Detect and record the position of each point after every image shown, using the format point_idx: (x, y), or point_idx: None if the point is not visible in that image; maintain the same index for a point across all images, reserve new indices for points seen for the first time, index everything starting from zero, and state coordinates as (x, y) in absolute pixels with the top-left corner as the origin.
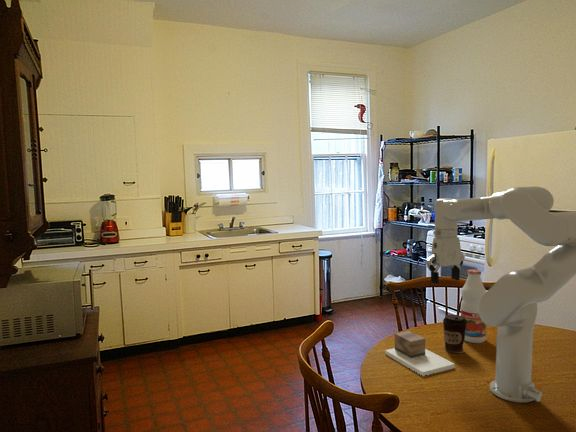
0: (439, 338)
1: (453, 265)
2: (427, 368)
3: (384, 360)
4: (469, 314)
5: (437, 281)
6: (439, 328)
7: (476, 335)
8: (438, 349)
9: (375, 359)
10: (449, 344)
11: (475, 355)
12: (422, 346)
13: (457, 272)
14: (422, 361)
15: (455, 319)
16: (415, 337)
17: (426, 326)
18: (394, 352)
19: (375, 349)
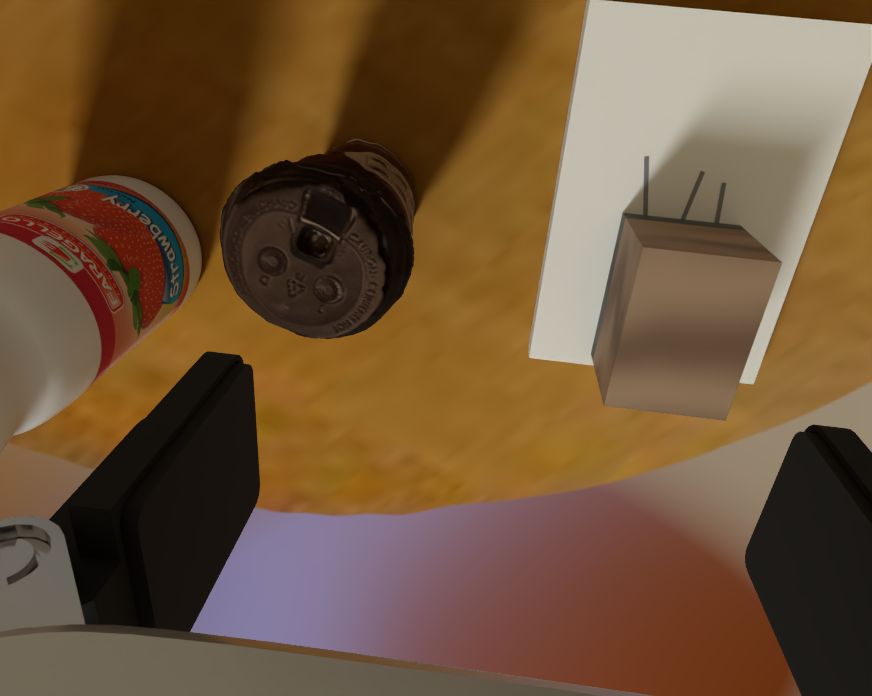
0: (307, 354)
1: (380, 659)
2: (803, 52)
3: (825, 318)
4: (92, 291)
5: (864, 449)
6: None
7: (138, 201)
8: (436, 254)
9: (851, 354)
10: (413, 199)
11: (308, 64)
12: (658, 232)
13: (175, 471)
14: (726, 150)
15: (342, 229)
16: (681, 299)
17: None
18: None
19: (730, 438)
